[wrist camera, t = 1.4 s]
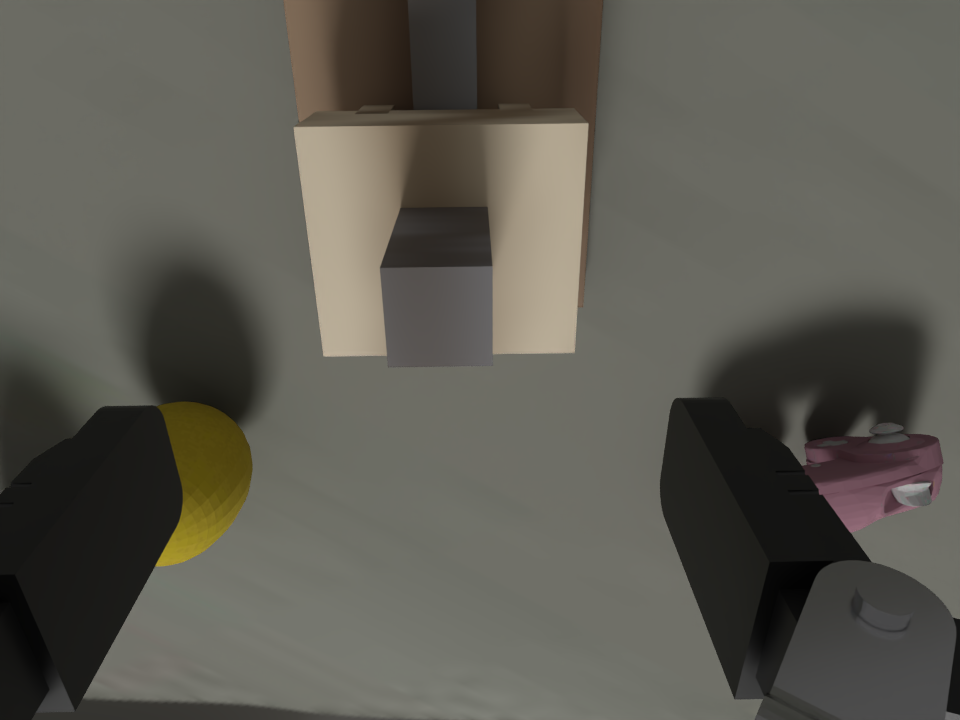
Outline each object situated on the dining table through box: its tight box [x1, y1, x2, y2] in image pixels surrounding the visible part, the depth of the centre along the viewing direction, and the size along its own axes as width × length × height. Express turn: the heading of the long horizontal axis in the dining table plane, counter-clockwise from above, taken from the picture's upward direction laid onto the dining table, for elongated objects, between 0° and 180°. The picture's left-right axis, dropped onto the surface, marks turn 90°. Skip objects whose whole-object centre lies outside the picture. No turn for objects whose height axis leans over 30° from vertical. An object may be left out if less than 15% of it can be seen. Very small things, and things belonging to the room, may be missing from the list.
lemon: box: [155, 401, 252, 566], centre depth 27 cm, size 6×6×8 cm
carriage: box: [294, 103, 589, 367], centre depth 20 cm, size 8×7×9 cm
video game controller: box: [802, 423, 943, 533], centre depth 29 cm, size 10×5×7 cm, turn 103°
